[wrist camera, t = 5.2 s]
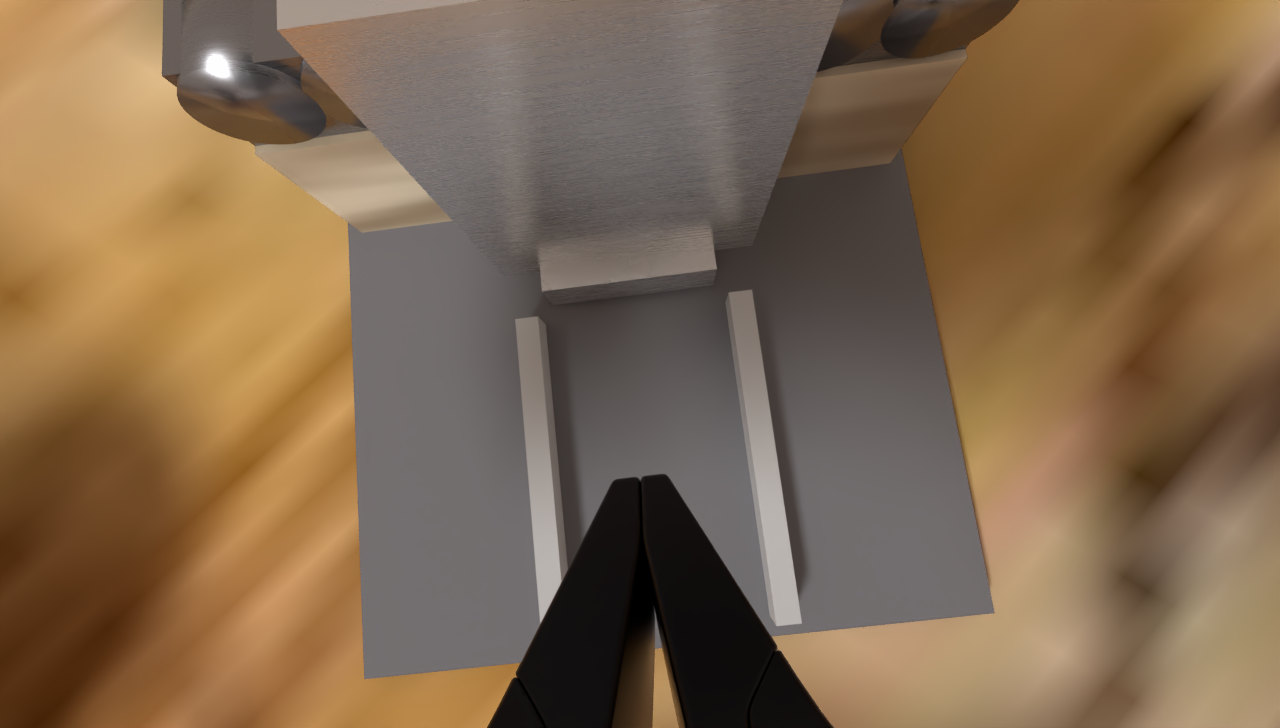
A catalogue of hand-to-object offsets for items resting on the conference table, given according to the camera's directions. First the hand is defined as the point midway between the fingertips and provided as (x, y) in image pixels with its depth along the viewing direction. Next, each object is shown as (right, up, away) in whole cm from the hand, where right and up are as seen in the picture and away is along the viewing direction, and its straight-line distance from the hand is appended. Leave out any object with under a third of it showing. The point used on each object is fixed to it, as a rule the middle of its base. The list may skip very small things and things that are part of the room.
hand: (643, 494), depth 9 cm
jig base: (0, +2, +8) cm, 8 cm away
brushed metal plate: (-1, +7, +7) cm, 10 cm away
